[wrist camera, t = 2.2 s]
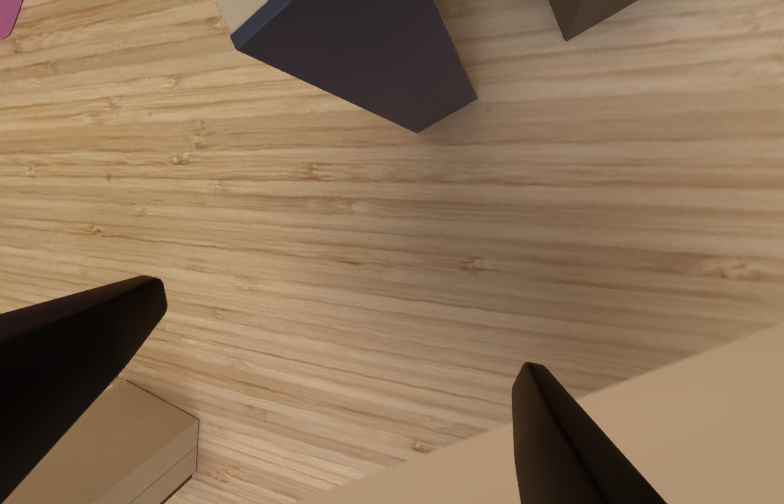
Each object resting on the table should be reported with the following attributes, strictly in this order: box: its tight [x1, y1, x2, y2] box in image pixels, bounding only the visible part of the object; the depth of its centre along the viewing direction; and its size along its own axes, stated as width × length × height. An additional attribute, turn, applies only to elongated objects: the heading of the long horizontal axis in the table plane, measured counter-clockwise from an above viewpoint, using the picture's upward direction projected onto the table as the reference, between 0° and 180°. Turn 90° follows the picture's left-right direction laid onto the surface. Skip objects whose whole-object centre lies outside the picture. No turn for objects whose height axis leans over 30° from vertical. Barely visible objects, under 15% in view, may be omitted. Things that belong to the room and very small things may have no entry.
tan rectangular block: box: [2, 381, 199, 504], centre depth 26 cm, size 9×7×13 cm
